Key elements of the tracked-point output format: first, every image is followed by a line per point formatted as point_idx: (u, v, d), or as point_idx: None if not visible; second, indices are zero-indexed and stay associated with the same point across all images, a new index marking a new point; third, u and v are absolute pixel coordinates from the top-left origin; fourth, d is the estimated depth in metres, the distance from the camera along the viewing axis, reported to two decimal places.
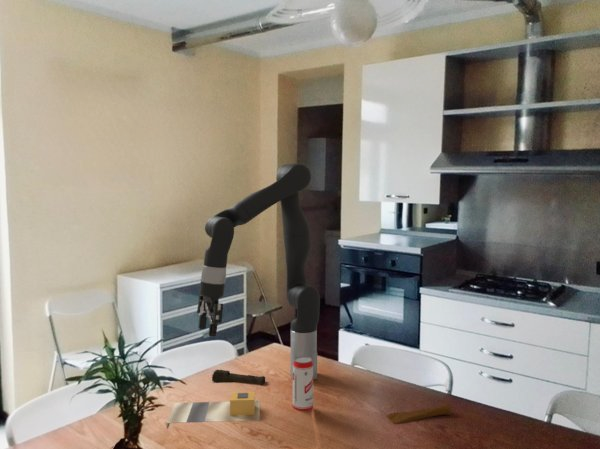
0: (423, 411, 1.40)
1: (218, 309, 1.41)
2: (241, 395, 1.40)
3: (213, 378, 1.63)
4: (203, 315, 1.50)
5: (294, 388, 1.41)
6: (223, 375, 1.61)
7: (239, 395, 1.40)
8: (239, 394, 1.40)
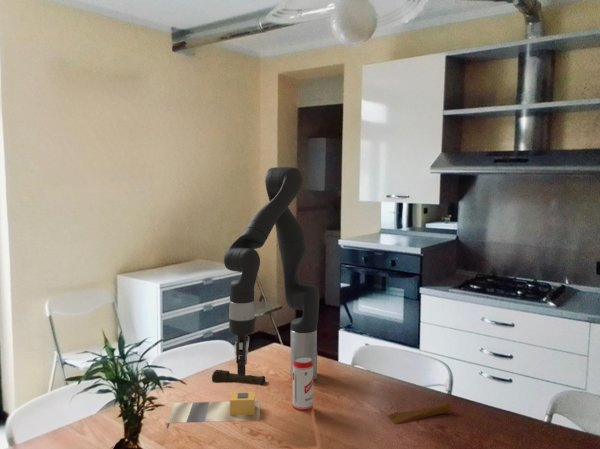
0: (424, 410, 1.40)
1: (240, 348, 1.32)
2: (241, 395, 1.40)
3: (213, 378, 1.63)
4: None
5: (294, 388, 1.41)
6: (223, 375, 1.61)
7: (239, 395, 1.40)
8: (239, 394, 1.40)
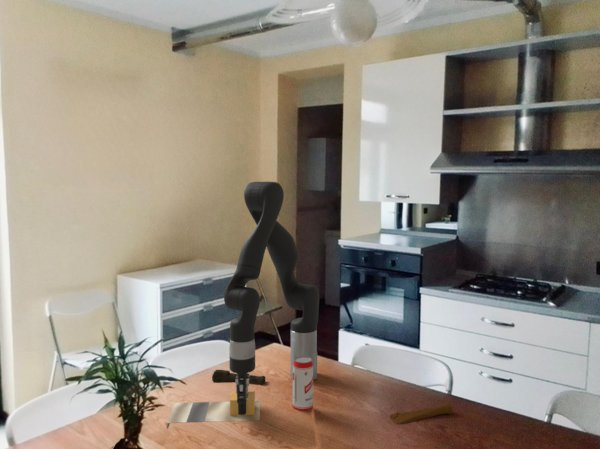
0: (425, 411, 1.40)
1: (240, 390, 1.33)
2: None
3: (213, 378, 1.63)
4: None
5: (294, 388, 1.41)
6: (223, 374, 1.61)
7: None
8: None
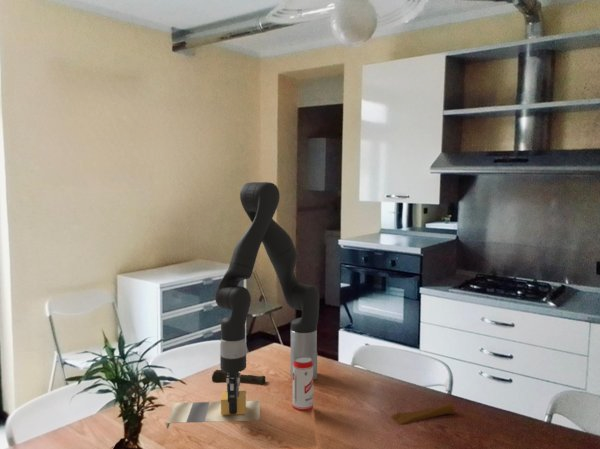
0: (427, 411, 1.40)
1: (231, 390, 1.33)
2: None
3: (213, 378, 1.63)
4: None
5: (294, 388, 1.41)
6: (223, 375, 1.61)
7: None
8: None
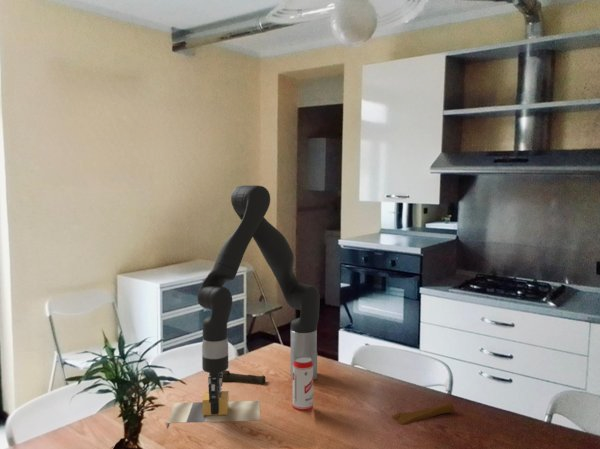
0: (427, 410, 1.40)
1: (212, 390, 1.32)
2: None
3: None
4: None
5: (294, 388, 1.41)
6: (223, 375, 1.61)
7: None
8: None
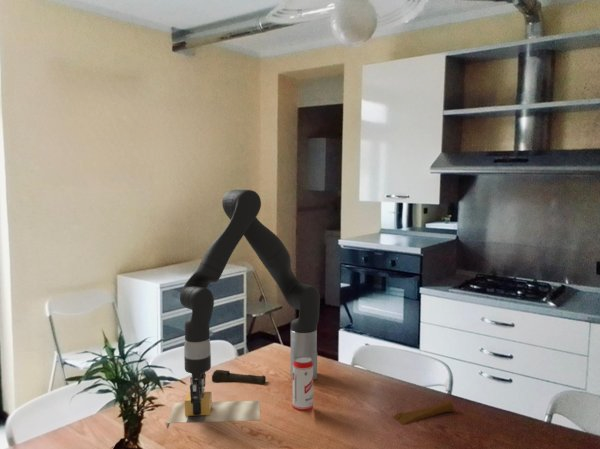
0: (428, 410, 1.41)
1: (194, 391, 1.32)
2: None
3: (213, 378, 1.63)
4: None
5: (294, 388, 1.41)
6: (223, 375, 1.61)
7: None
8: None
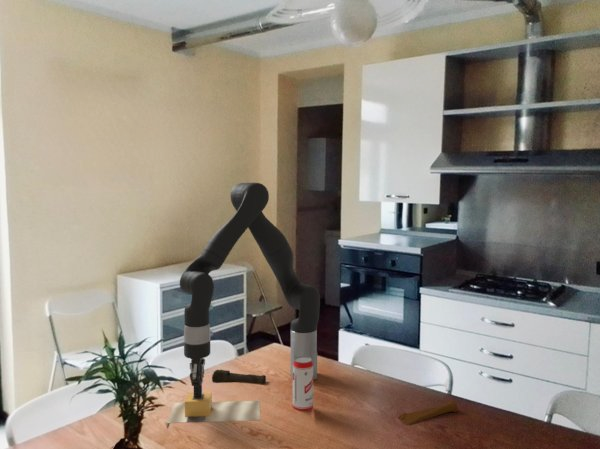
0: (432, 410, 1.41)
1: (194, 379, 1.33)
2: None
3: (213, 378, 1.63)
4: None
5: (294, 388, 1.41)
6: (223, 375, 1.61)
7: None
8: None
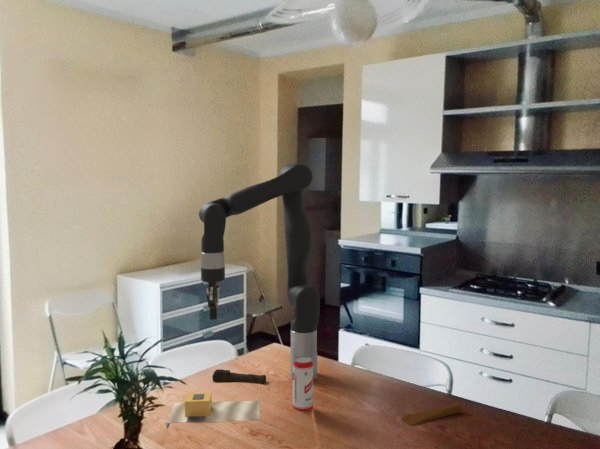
0: (436, 411, 1.40)
1: (210, 299, 1.46)
2: (197, 396, 1.39)
3: (213, 378, 1.63)
4: None
5: (294, 388, 1.41)
6: (224, 374, 1.62)
7: (195, 396, 1.39)
8: (195, 395, 1.40)
